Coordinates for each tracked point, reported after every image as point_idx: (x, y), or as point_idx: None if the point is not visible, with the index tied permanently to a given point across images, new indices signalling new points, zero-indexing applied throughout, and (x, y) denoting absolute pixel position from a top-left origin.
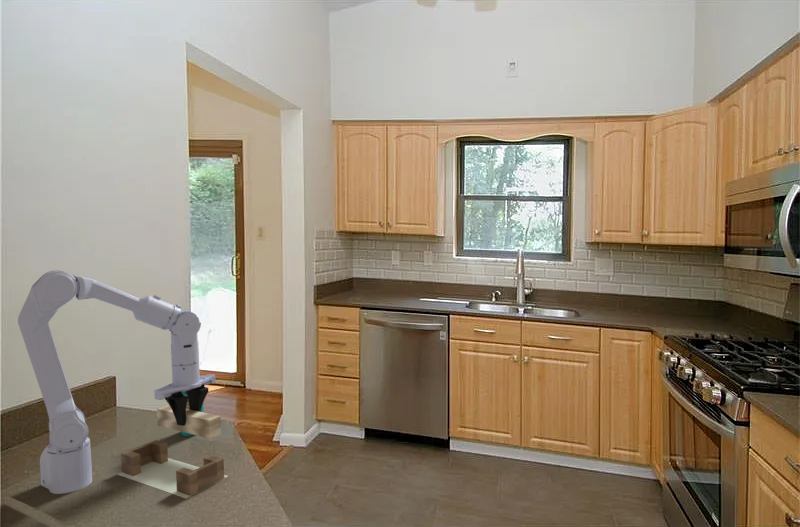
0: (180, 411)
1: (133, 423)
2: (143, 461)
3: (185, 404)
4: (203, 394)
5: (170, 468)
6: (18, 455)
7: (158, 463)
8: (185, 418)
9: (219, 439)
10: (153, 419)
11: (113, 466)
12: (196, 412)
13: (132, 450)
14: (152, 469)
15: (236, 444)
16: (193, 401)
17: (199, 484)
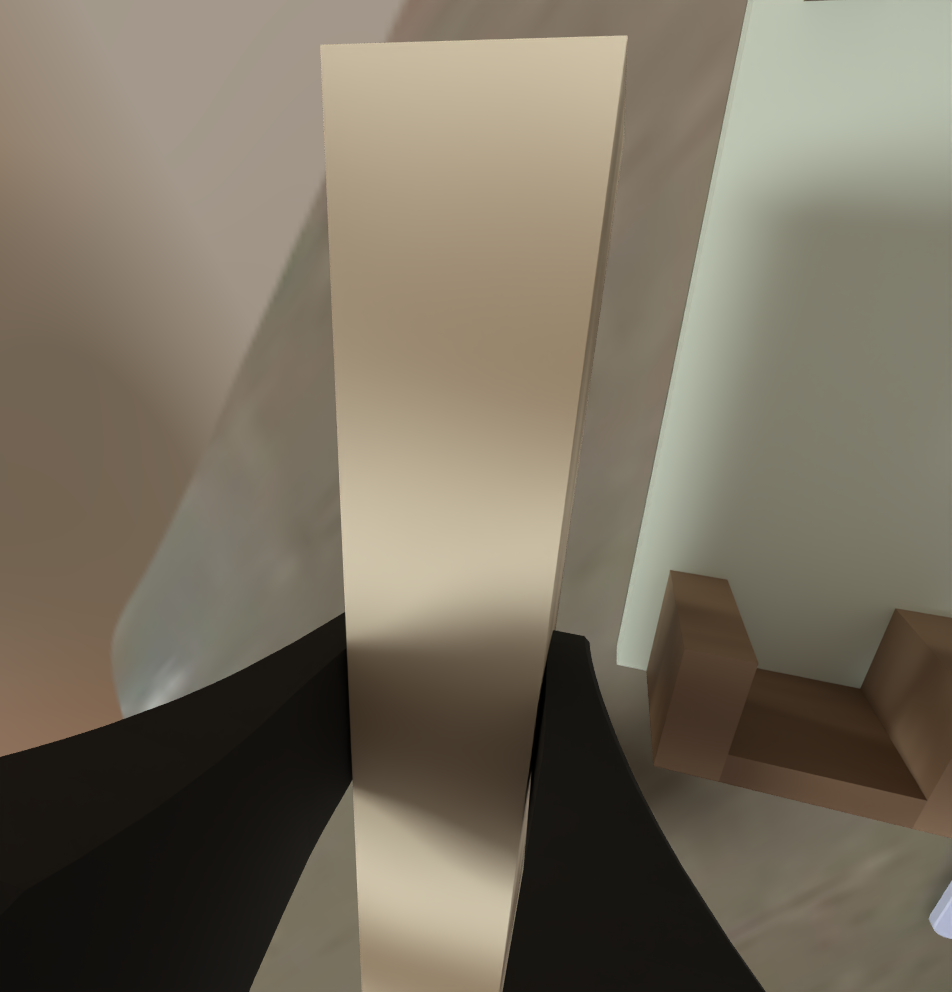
0: (639, 802)
1: (347, 987)
2: (779, 688)
3: (558, 863)
4: (45, 803)
5: (779, 463)
6: None
7: None
8: (556, 671)
9: (261, 525)
10: (280, 942)
11: (766, 825)
12: (391, 634)
13: (903, 805)
14: (823, 573)
15: (253, 365)
16: (270, 836)
17: None
